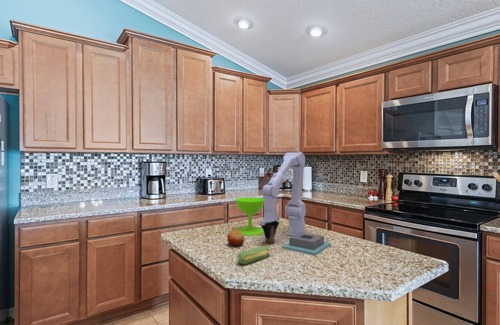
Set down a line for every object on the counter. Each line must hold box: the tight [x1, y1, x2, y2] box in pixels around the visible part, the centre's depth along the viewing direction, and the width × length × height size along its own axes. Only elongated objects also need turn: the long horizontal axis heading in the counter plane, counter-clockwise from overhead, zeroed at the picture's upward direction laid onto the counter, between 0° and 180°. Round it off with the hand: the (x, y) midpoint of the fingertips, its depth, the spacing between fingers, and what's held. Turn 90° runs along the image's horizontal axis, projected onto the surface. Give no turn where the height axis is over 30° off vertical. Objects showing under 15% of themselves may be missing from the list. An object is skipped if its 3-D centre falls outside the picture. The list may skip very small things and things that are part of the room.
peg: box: [265, 225, 275, 245], centre depth 139 cm, size 4×4×8 cm
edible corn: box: [236, 244, 272, 266], centre depth 117 cm, size 5×20×5 cm
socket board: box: [281, 232, 332, 256], centre depth 133 cm, size 18×16×4 cm
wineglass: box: [235, 197, 264, 237], centre depth 160 cm, size 16×16×18 cm
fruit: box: [226, 229, 245, 248], centre depth 136 cm, size 8×8×8 cm
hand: (270, 237), depth 139 cm, fingers closed on peg, 4 cm apart
